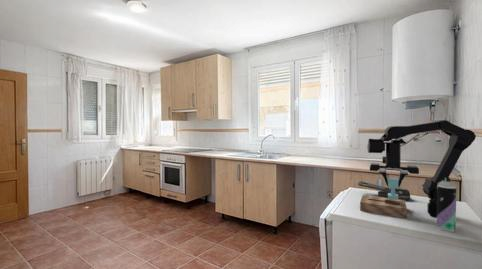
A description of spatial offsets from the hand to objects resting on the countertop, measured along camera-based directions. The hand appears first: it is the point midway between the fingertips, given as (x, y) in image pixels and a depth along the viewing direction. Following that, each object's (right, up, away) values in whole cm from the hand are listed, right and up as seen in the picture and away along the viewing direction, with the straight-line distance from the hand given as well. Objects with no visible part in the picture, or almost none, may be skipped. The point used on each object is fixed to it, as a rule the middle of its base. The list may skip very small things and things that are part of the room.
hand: (393, 186), depth 108 cm
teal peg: (0, -5, 0) cm, 5 cm away
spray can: (+8, -12, -18) cm, 24 cm away
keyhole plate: (-3, -12, +3) cm, 12 cm away
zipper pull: (+9, -11, +22) cm, 26 cm away
